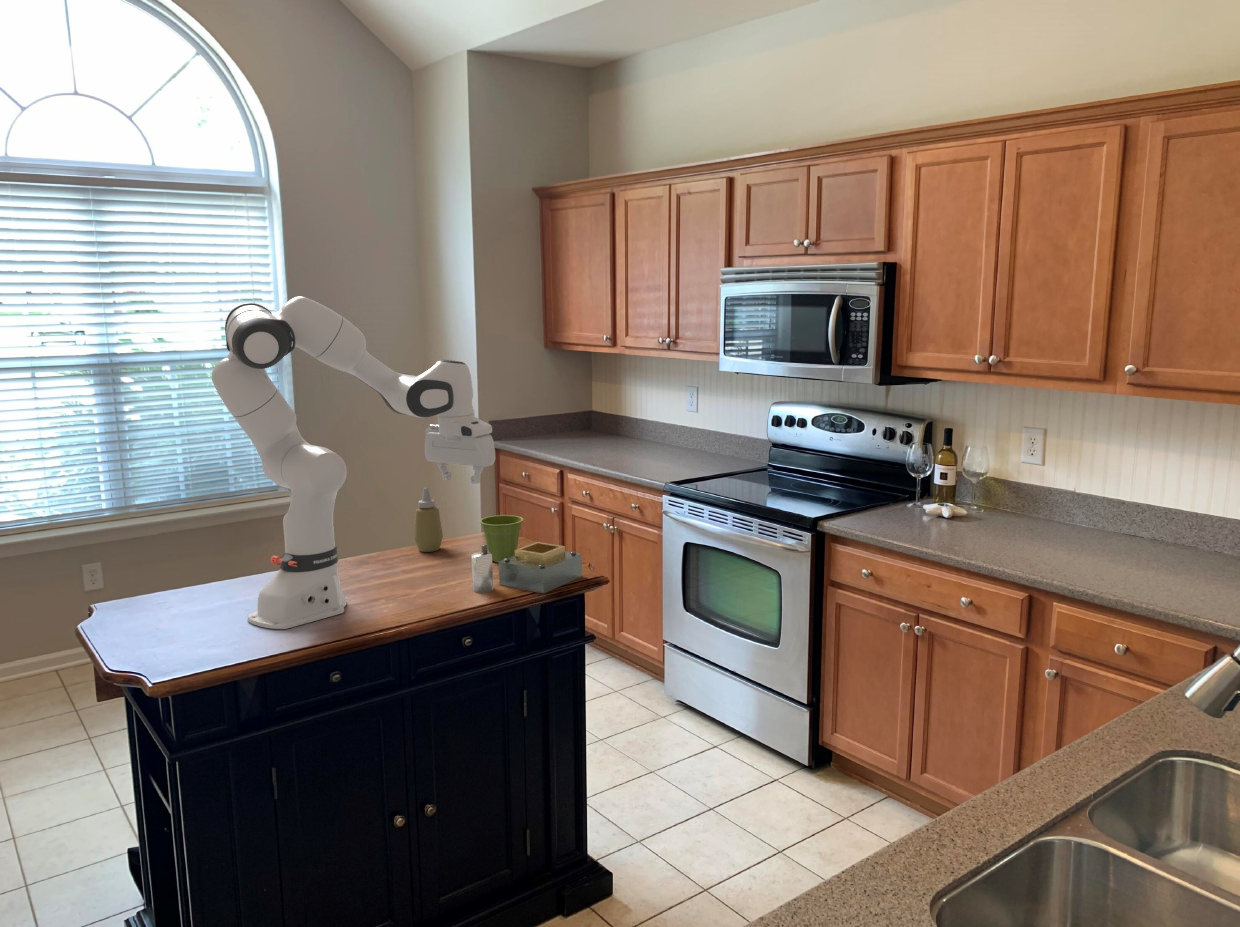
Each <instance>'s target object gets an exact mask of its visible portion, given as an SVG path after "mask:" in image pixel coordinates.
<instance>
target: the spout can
mask: <svg viewBox="0 0 1240 927" xmlns="http://www.w3.org/2000/svg"><path fill="white" fill-rule="evenodd" d="M470 557H471V572H472V573H471V576H472V578H471V580H472V591H473V592H474V593H477V594H486V593H490V592H493V590H494V575H493V574H494V572H493V561H492V553H490V552H488V548H487V544H482V545H481V551H479V552H478V551H477V552H473V553H472V554H471V555H470Z"/></svg>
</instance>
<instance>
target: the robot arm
mask: <svg viewBox="0 0 1240 927" xmlns="http://www.w3.org/2000/svg"><path fill="white" fill-rule="evenodd" d="M225 319H226V320H225V325H224V330H225V331H224V333H225V343H226V350H227V351H228V352H229V353H228V355H226V356H224V358H222V359H221V360H220V361H218V362H217V364H215V366H214V367H213V370H212V372H211V382H212V383H213V385H214V388H215V390H216V392H217V393H218V396H219V397H220V399H221V400H222V402H223V405H225V407H226V409H227V410H228V411H229V413H230V414H231V415H232V417H233V418H234V419H235V421H236V422H237V423H238V425H239V426H240V428H241V429H242V430H243V432H244V433H245V434H246V435H247V437H248V439H250V441H251V443H252V444H253V446H254V447H255V450H256V452H257V454H258V457H260V460H261V468H262V471H263V473H264V475H265V477H267V479H269V480H270V481H272V482H273V483H275V484H276V485H277V486H279V487H282V488H286V489H289V490H290V495H291V496H290V503H289V507H288V510H287V512H286V514H285V515H284V516H283V520H282V524H283V525H282V526H283V537H284V549H285V550H284V552H283V554H282V556H278V555H272V556H271V558H269V559H270V564H272V565H276V566H279V568H280V569H279V570H278V571H277V572H276V574H275V575H274V576H273V577H272V578H271V579H270V580H269V581H268V582H267V584H265V586H264V587H263V588H261V590H260V591H259V593H258V596H257V604H256V605H257V608H256V609H257V610H255V611H253V612H250V613H248V615H247V621H248V623H250V624H251V625H254V626H258V627H261V628H266V629H274V630H286V629H290V628H295V627H298V626H300V625H301V626H302V625H306V624H308V623H312V622H315V621H319V620H322V619H326V618H329V617H334V616H337V615H340V614H344V612H345V607H346V605H347V599H346V598H345V594H344V592H343V589H342V585H341V581H340V577H339V576H340V575H339V569H338V562H339V554H338V546H337V545H336V544H335V543H336V542H335V526H334V510H335V503H336V499H337V494H338V492H339V490H340V489H341V488H342V487H343V485H344V484H345V482H346V479H347V477H348V476H347V475H348V470H347V464H346V462H345V460H344V459H343V458H342V456H341V455H339V454H337V452H334V451H332V450H331V449H329V448H327V447H325V446H320V445H314V444H310V443H309V442H307V441H306V440H305V439H304V438H303V436H302V434H301V432H300V430H299V428H298V425H297V414H296V413H295V412H294V409H292V407H291V406H290V403H288V401H287V400H286V398H284V396H283V394H282V393H281V391H280V390H279V389H278V387H277V386H276V384H274V382H273V380H272V379H271V378H270V376H269V375H268V373H267V371H266V369H268V368H271V367H273V366H275V365H276V364H278V363H279V362H280V361H282V359H283V358H285V356H287V355H289V353H291V352H292V351H294V350H295V348H297V349H299V350H301V351H303V352H305V353H306V354H308V355H309V356H311V357H312V358H314V359H316V360H317V361H319V362H320V363H323V365H324V364H325V365H327V366H329V367H330V368H332V369H336V370H337V371H341V372H344V373H348V374H349V375H352V376H353V377H356V379H358V380H360V381H361V382H363V383H364V384H365V385H366V386H368V387H369V388H372V389H373V390H375V392H377V393H378V394H379V395H380V397H381V399H382V400H383V402H384V403H385V404H386V406H387V407H388V408H389V410H391V411H392V412H393V413H396V414H397V415H403V416H411V417H415V418H421V419H426V418H431V417H434V416H437V424H434V423H433V424H432V423H431V424H429V425H428V426H427V427H426V428H425V438H424V457H425V459H426V461H427V462H432V463H436V464H437V468H438V469H439V471H440V473H441V478H442V480H443V481H451V480H452V472H450V471H449V469H448V467H447V466H448V464H451V465H460V466H461V465H462V466H470V467H472V470H473V471H474V473H473V475H472V476H471V475H470V483H471V484H475V485H477V484H480V483H481V475H482V472H483V471H484V468H486V467H491V466H493V465H494V464H495V461H496V449H495V441H494V439H493V437H492V435H490V434H491V433H492V432H493V426H492V425H491V424H490V423H488V422H487V421H486V422H485V421H483V420H481V419H479V418H478V417H477V416H475V415H476V414H475V409H474V407H473V397H474V390H473V383H472V382H473V381H472V375H471V371H470V368H469V366H468V365H467V364H466V363H465V362H463V361H458V360H453V359H452V360H451V359H440V360H437V361H436V362H435V364H433V366H431V367H430V368H429V369H428V370H426V371H424V372H423V373H421V374H419V375H413V374H411V373H407V372H397V371H395V370H393V369H391V368H390V367H388V365H387V364H385V363H383V362H381V360H378V359H377V358H376V357H374V356H373V355H371V354H370V353H369V351H368V350H367V341H366V340H367V339H366V337H365V335H364V333H362V331H361V330H360V329H359V328H358V327H356V325H354V324H353V323H352V321H349V320H348V319H347V318H345V317H344V316H342V315H341V314H339V313H337V312H336V311H334V310H333V309H331V308H329V307H327V306H325V305H324V304H321V303H320V302H318V301H315V300H313V299H311V298H308V297H307V296H295V297H292V298H290V299H289V300H288V301H286V303H285V304H284V305H283V306H282V307H281V309H280V310H278V311H276V312H272V311H271V310H269V309H268V308H267V307H265V306H264V305H261V304H257V303H254V302H246V303H245V302H244V303H242V304H241V303H240V304H239V305H237V306H235V307H234V308H232V309H231V310H230V311H229V313H228V315H227V317H226V318H225Z"/></svg>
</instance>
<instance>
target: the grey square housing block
mask: <svg viewBox="0 0 1240 927" xmlns="http://www.w3.org/2000/svg"><path fill="white" fill-rule="evenodd" d="M582 559H583V558H582V553H577V551H566V546H565V545H561V544H560V545H559V544H553V543H546V542H541V541H535V542H533V543H529V544H528V545H525V546H522V547H519V548H517V549H516V550H515V556H512V557H510V558H505V559H504V560H502V561H499V563H498V580H499V582H498V583H499V586H504V587H508V588H514V589H519V590H523V591H529V592H535V593H539V594H547V593H548V592H550V591H553V590H555V589H558V588H560V587H562V586H564V585H566V584H568V583H570V582H574V581H575V580H577V579H579V578H580V579H581V578H582V577H583V566H582V565H583V564H582Z"/></svg>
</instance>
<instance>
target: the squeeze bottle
mask: <svg viewBox="0 0 1240 927" xmlns="http://www.w3.org/2000/svg"><path fill="white" fill-rule="evenodd" d="M421 496H422V497H421V500H420V499H419V500H418V502H417V505H418V508H416V509H415V512H414V514H415V515H414V533H413V534H414V537H413V540H414V542H415V544H416V547H417V548H418V552H422V553H423V552H424V553H433V552H436V551H439V550H440V548H441V545H442V541H443V537H444V535H443V528H442V522H441V517H440V510H439V508H438V507H436V500H435V499H432V498H431V494H430V491H429V488H427V487H424V488H423V490H422V495H421Z"/></svg>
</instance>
